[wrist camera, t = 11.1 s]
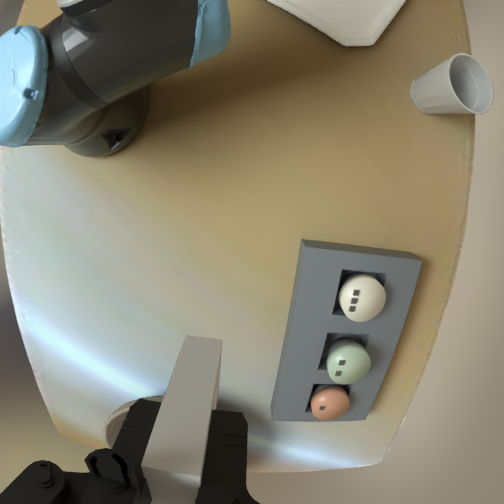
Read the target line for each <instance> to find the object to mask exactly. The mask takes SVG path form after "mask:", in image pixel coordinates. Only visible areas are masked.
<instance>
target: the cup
mask: <svg viewBox="0 0 504 504" xmlns="http://www.w3.org/2000/svg"><path fill="white" fill-rule="evenodd" d="M410 96H411V99H412V101H413V103H414V105H415V106H416V108H417V109H418V110H420V111H421V112H422V113H424V114H427V115H434V114H483V113H485V112H487V111H488V110H489V109H490V107H491V105H492V102H493V97H494V92H493V85H492V82H491V79H490V76H489V75H488V72H487V71H486V69H485V68H484V67H483V65H482V64H481V63H480V62H479V61H478V60H477V59H476V58H474V57H473V56H471V55H469V54H465V53H458V54H455V55H454V56H452V57H451V58H449V59H447V60H446V61H444V62H443V63H441V64H439V65H438V66H436V67H434V68H433V69H431V70H429V71H428V72H426V73H424V74H423V75H421V76H419V77H417V78H415V79H414V80H413V81H412V83H411V85H410Z"/></svg>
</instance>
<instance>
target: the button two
mask: <svg viewBox="0 0 504 504" xmlns="http://www.w3.org/2000/svg"><path fill="white" fill-rule="evenodd" d="M327 355H328V358H327V361H326V366H327V369H328V373H329V376H330V378H331V379H332V380H333V381H334V382H336V383H338V384H351V383H354V382H356V381H358V380H360V379H361V378H363V377H364V376H365V375H366V374H367V372H368V371H369V369H370V366H371V360H370V357H369V355H368V353H367V351H366V350H365V348H364V347H363V346H362V345H360V344H358V343H357V342H356V341H355V340H354V339H353V338H351V337H340V338H338V339H336V340H334V341H333V342H332V343H331V344H330V345H329V347H328V350H327Z"/></svg>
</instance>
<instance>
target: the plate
mask: <svg viewBox="0 0 504 504" xmlns="http://www.w3.org/2000/svg"><path fill="white" fill-rule="evenodd" d="M266 1H268V2H270V3H272V4H274V5H276V6H278V7H280V8H282V9H283V10H285V11H287V12H289V13H291V14H293V15H294V16H296V17H298V18H300V19H301V20H303V21H305V22H306V23H308V24H310V25H311V26H313V27H315V28H316V29H318V30H320V31H321V32H323V33H324V34H326V35H327V36H329V37H331V38H332V39H334V40H335V41H337V42H338V43H340V44H341V45H343V46H346V47H348V46H371V45H374V43H375V42H376V41H377V39H378V38H379V37H380V35H381V34H382V32H383V31H384V30H385V28H386V27H387V26H388V24H389V23H390V22H391V20H392V19H393V18H394V16H395V15H396V13H397V12H398V11H399V9H400V8H401V7H402V5H403V4H404V3H405V1H406V0H266Z"/></svg>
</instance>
